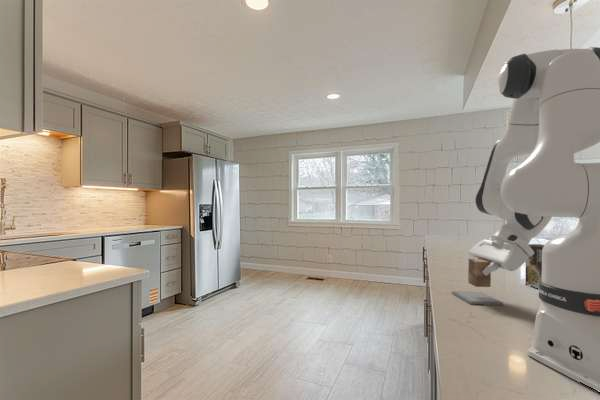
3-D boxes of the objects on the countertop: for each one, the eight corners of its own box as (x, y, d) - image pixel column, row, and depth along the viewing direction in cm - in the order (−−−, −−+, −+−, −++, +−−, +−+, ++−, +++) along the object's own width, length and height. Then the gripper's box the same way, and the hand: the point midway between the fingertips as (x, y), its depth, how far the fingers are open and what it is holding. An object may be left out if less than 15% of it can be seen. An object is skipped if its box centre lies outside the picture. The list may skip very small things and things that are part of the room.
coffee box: (561, 292, 107) (561, 247, 107) (543, 291, 107) (543, 246, 107) (541, 285, 116) (541, 243, 116) (524, 284, 116) (524, 243, 116)
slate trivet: (502, 305, 91) (502, 302, 91) (470, 304, 91) (470, 301, 91) (480, 294, 102) (480, 291, 102) (451, 293, 102) (451, 290, 102)
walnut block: (490, 287, 94) (491, 261, 94) (476, 286, 94) (476, 261, 94) (481, 283, 99) (482, 258, 99) (468, 282, 99) (468, 258, 99)
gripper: (481, 231, 107) (453, 258, 107) (524, 238, 87) (490, 271, 86) (493, 244, 107) (466, 270, 107) (539, 254, 87) (505, 287, 86)
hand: (477, 271), depth 96 cm, fingers closed on walnut block, 4 cm apart
